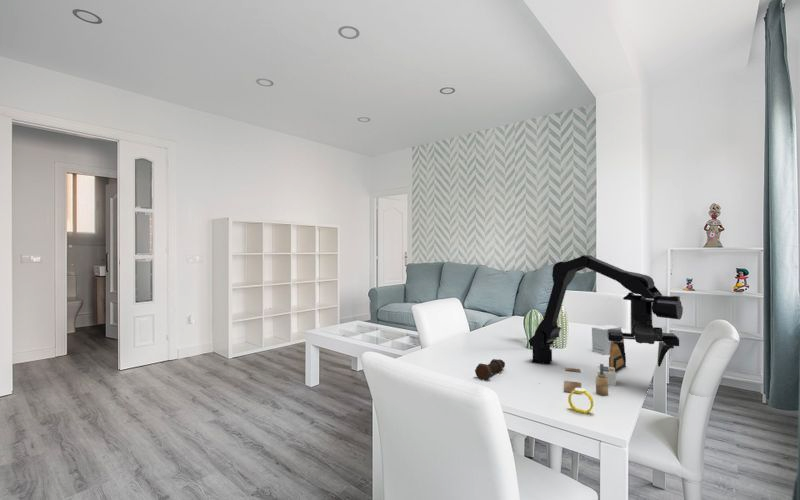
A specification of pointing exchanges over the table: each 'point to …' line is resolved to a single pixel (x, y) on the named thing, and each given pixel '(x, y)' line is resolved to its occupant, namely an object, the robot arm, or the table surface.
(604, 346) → the skincare box
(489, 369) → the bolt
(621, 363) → the ammunition clip
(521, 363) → the table surface
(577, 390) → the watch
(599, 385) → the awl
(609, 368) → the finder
